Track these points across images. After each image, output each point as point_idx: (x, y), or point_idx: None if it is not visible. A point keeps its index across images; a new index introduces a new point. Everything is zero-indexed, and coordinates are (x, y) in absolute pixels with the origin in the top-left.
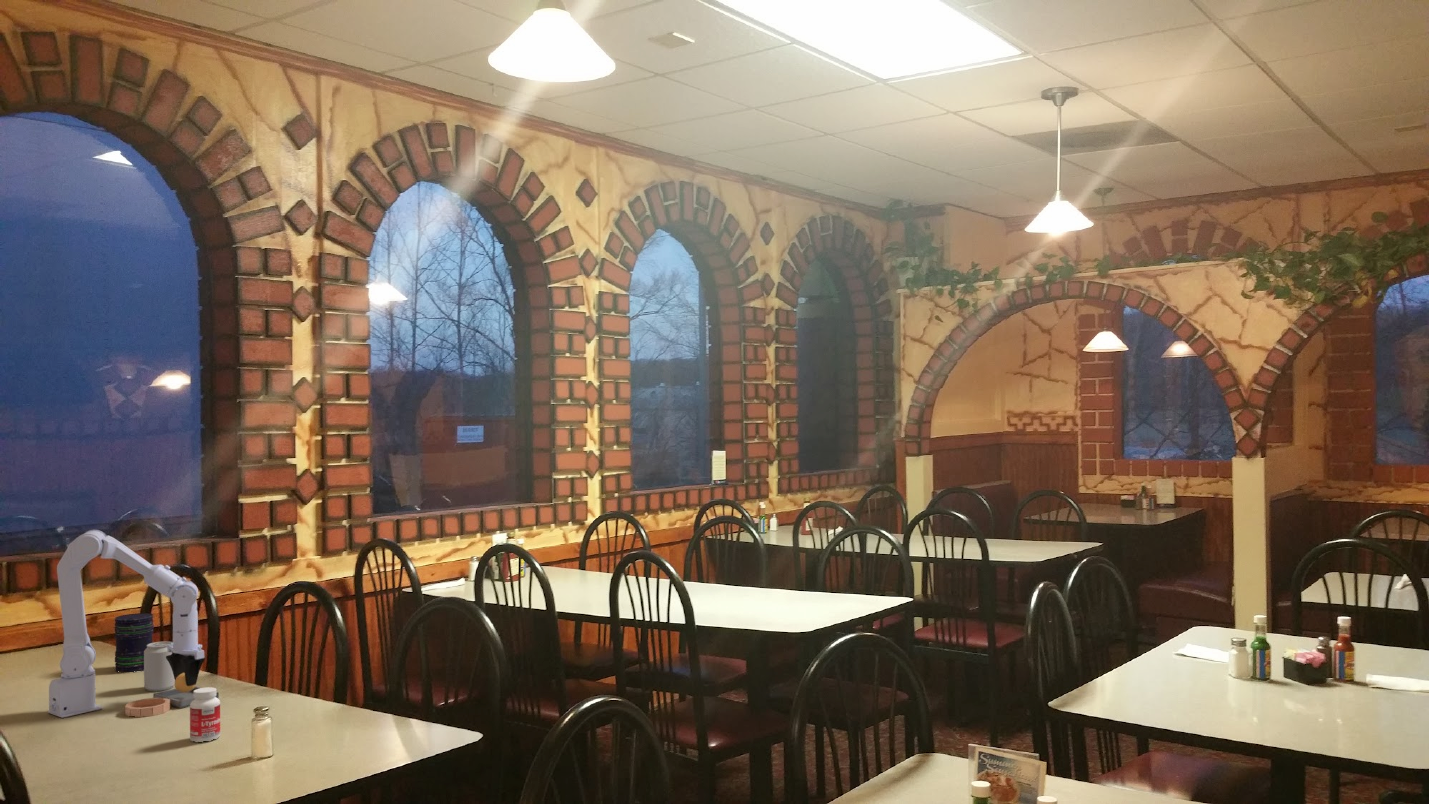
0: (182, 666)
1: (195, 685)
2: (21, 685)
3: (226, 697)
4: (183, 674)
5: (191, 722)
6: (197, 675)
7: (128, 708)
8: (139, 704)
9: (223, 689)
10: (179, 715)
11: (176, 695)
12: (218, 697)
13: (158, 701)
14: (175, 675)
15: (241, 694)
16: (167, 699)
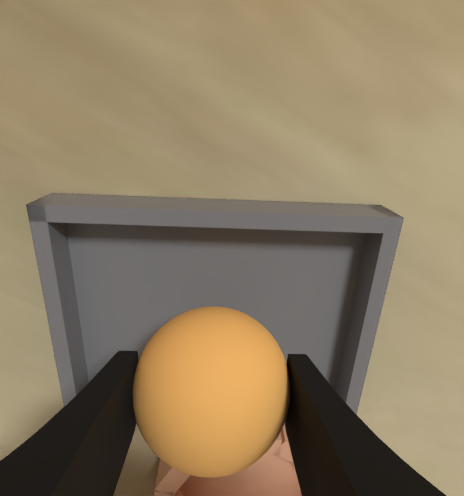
0: (86, 486)
1: (257, 321)
2: None
3: (382, 144)
4: (230, 471)
5: None
6: (344, 406)
7: None
8: (177, 491)
9: (163, 13)
10: (428, 436)
11: (110, 314)
12: (387, 209)
13: None
14: (123, 462)
15: (421, 27)
16: (272, 447)
